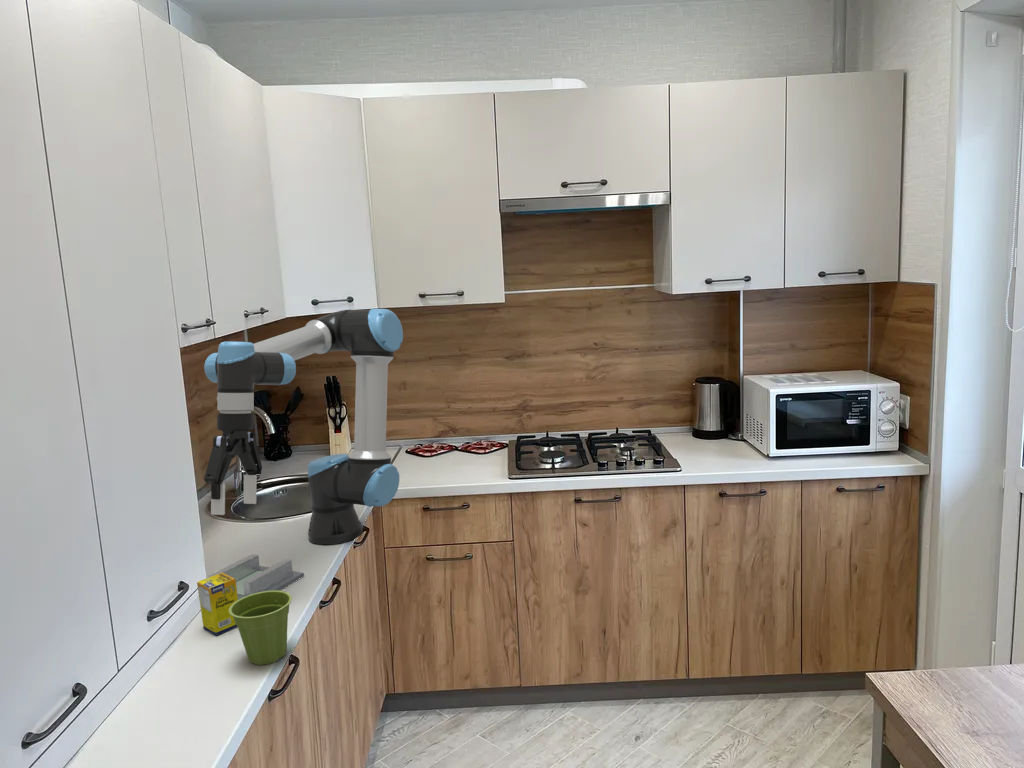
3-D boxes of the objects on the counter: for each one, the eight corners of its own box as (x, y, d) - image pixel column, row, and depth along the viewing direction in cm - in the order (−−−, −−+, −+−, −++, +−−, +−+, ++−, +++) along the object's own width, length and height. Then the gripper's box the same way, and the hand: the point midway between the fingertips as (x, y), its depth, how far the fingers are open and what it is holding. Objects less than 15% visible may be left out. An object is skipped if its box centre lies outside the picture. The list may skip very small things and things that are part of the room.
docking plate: (256, 568, 192) (253, 550, 191) (303, 576, 185) (301, 557, 184) (200, 598, 176) (197, 578, 176) (250, 608, 169) (247, 587, 169)
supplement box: (242, 625, 161) (236, 578, 159) (216, 636, 157) (209, 588, 155) (228, 618, 165) (222, 571, 163) (202, 629, 161) (196, 581, 159)
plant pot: (285, 635, 156) (279, 584, 154) (307, 656, 146) (301, 603, 144) (227, 655, 149) (220, 602, 147) (246, 679, 139) (239, 623, 137)
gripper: (247, 409, 175) (247, 498, 176) (186, 414, 151) (185, 518, 151) (277, 409, 174) (276, 500, 175) (221, 415, 150) (220, 520, 150)
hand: (234, 508), depth 163 cm, fingers open, 13 cm apart
